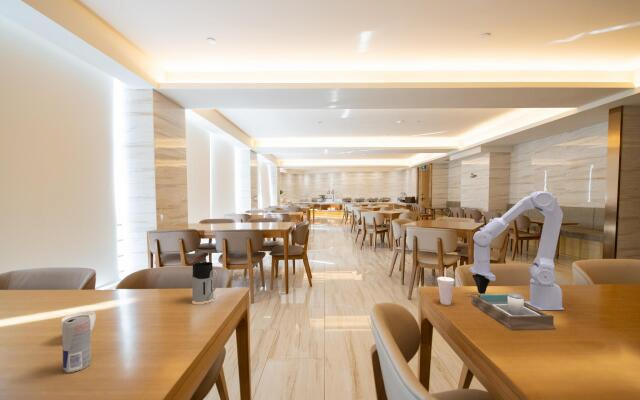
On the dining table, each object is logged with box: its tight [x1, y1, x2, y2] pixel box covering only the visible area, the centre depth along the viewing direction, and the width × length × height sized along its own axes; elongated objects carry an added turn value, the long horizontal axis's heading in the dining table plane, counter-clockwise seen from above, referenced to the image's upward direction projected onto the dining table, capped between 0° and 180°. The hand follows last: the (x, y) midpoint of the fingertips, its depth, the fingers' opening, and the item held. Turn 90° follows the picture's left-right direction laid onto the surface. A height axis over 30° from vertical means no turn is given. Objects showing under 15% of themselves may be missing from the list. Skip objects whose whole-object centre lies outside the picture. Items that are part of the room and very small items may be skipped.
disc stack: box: [507, 292, 525, 315], centre depth 99 cm, size 5×5×6 cm
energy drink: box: [61, 315, 92, 374], centre depth 72 cm, size 5×5×12 cm
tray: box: [479, 293, 540, 316], centre depth 101 cm, size 17×11×4 cm, turn 2°
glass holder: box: [191, 261, 219, 302], centre depth 115 cm, size 9×14×15 cm, turn 54°
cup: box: [60, 310, 97, 332], centre depth 87 cm, size 8×10×7 cm
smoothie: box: [436, 267, 455, 306], centre depth 113 cm, size 6×6×14 cm
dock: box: [470, 294, 556, 331], centre depth 102 cm, size 22×15×4 cm, turn 2°
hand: (481, 293), depth 118 cm, fingers closed
